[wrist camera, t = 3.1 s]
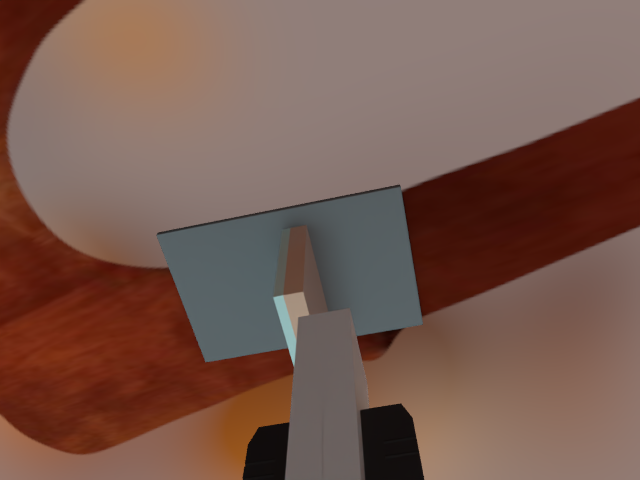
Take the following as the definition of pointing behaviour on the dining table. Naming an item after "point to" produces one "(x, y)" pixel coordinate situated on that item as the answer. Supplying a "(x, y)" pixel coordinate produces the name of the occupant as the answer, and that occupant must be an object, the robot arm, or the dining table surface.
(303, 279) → the tile
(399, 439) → the robot arm
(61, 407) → the dining table surface
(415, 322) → the mat
